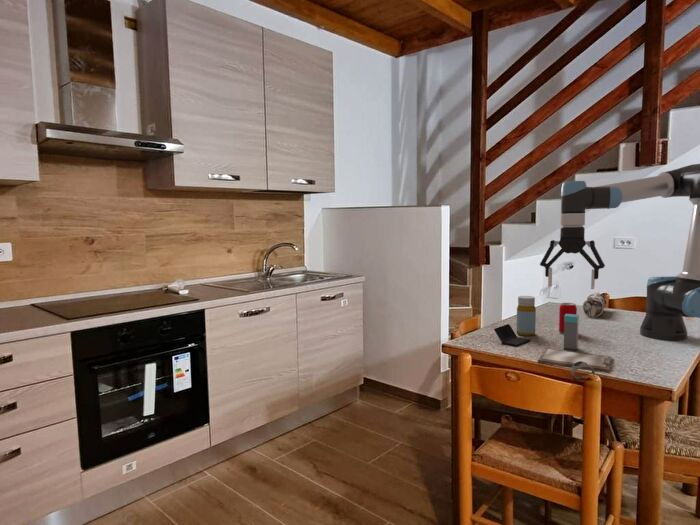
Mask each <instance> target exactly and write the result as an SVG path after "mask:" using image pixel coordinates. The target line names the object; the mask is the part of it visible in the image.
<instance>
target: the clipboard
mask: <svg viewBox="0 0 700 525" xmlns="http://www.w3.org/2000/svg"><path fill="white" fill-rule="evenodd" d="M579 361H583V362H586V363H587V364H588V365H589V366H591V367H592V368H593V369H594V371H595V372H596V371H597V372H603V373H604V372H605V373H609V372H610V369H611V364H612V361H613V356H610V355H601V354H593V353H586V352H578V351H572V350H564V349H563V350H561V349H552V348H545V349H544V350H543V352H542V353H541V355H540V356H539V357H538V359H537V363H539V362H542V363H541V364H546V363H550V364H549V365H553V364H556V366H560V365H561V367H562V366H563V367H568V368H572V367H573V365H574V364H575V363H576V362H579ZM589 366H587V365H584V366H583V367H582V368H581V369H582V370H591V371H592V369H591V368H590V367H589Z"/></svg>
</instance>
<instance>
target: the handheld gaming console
mask: <svg viewBox="0 0 700 525" xmlns="http://www.w3.org/2000/svg"><path fill="white" fill-rule="evenodd" d="M513 329H514V328H512V325H510V324H509V323H507V324H504V325H501V326H498V327H496V328H494V329H493V330H494V332H495V334H496V335H497V337H498V338H499V340H500V342H501V345H505V346H510V347H515V348H517V347H520V346H523V345H525V344H527V343H530V342H531V339H530V338H525V337H520V336H518V335H516V334H517V333H515V331H514V330H513Z"/></svg>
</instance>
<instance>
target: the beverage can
mask: <svg viewBox="0 0 700 525" xmlns="http://www.w3.org/2000/svg"><path fill="white" fill-rule="evenodd" d="M558 310H559V311H558V312H559V315H558V332H559V333H560V334H563V335H564V316H565V314H574V315H578V314H577V313H578V312H577V311H578V310H577V306H576V303H574V302H561V303H560V305H559V309H558Z"/></svg>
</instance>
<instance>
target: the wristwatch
mask: <svg viewBox="0 0 700 525" xmlns="http://www.w3.org/2000/svg"><path fill="white" fill-rule="evenodd" d="M584 365H587V366H589V365H588V364H587V363H586V362H583V361H579V362H576V363H575V364H574V365H573V367H571V370H570V374H571V376H572V377H573V378H574V379H575V380H585V379H584V378H585V376H586V375H579V376H575V372H576V371H577V370H580V369H582V367H583V366H584ZM589 367H590V368H591V369H592V370H591V372H590V373H589V374H593V376H594V375H595V372H596V370H594V369H593V368H592V367H591V366H589Z"/></svg>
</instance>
